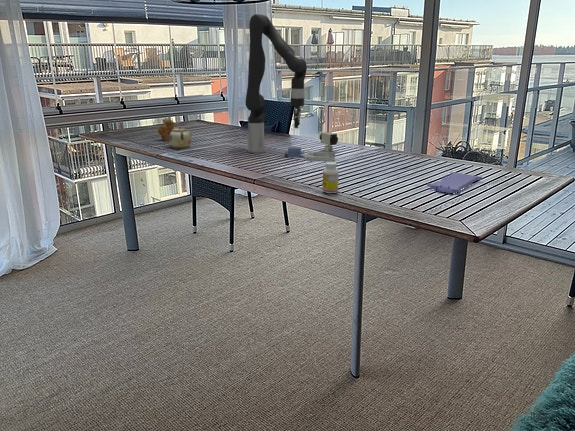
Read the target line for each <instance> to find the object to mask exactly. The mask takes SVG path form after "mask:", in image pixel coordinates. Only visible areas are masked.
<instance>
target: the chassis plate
mask: <svg viewBox="0 0 575 431" xmlns="http://www.w3.org/2000/svg"><path fill="white" fill-rule="evenodd" d="M335 160H336V151H332V152H326V151H313V150H311V151H310V150H309V151H308V150H307V152H306V155H305V156H304V161H307V162H308V161H309V162H310V161H312V162H313V161H314V162H335Z"/></svg>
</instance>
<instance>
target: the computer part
mask: <svg viewBox="0 0 575 431" xmlns="http://www.w3.org/2000/svg"><path fill="white" fill-rule="evenodd" d="M449 174H450V175H448V173H447V174H445V175H443V176H442V178H441V180H437V181H436V182H434V183H431V182H429V183H427V184H426V186H427V187H429V188H430V189H434V190H436V192H440V191H441V192H440V193H444V192H446V193H445V194H450V193H456V192H458V193H461V192H462V191H461V189H463V188H465V187H467V186H469V185H470V184H472V183H473V182H475V181H477V180H478V181H483V177H482V176H478V175H473V174H468V173H467V174H466V173H462V172H461V173H460V172H454V171H453V172H452V171H450V172H449ZM478 181H477V182H478ZM475 183H476V182H475ZM472 185H473V184H472ZM470 186H471V185H470ZM470 186H469V187H470ZM467 188H468V187H467ZM465 189H466V188H465Z"/></svg>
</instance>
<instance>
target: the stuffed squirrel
mask: <svg viewBox="0 0 575 431" xmlns="http://www.w3.org/2000/svg"><path fill="white" fill-rule="evenodd" d="M163 122H164V123H165V125H162V126H159V127H158V128H157V133H158V134H159V135H160V137H161V138H160V139H161V140H162V141H164V142H170V141H169V135H170V133H171V132H172V131H173V129H175V128H174V126H177V124H176V123H175V122H174V120H172V119H168V120H164V121H163Z"/></svg>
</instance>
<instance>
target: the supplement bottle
mask: <svg viewBox="0 0 575 431" xmlns="http://www.w3.org/2000/svg"><path fill="white" fill-rule="evenodd" d="M324 165H325V168H324V169H323V170H322V190H321V191H322V193H323V192H326V193H336V192H337V193H338V192H339V173H340V172H339V169H338V168H337V166H338V163H337V162H335V161H325V164H324ZM337 193H336V194H337Z"/></svg>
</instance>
